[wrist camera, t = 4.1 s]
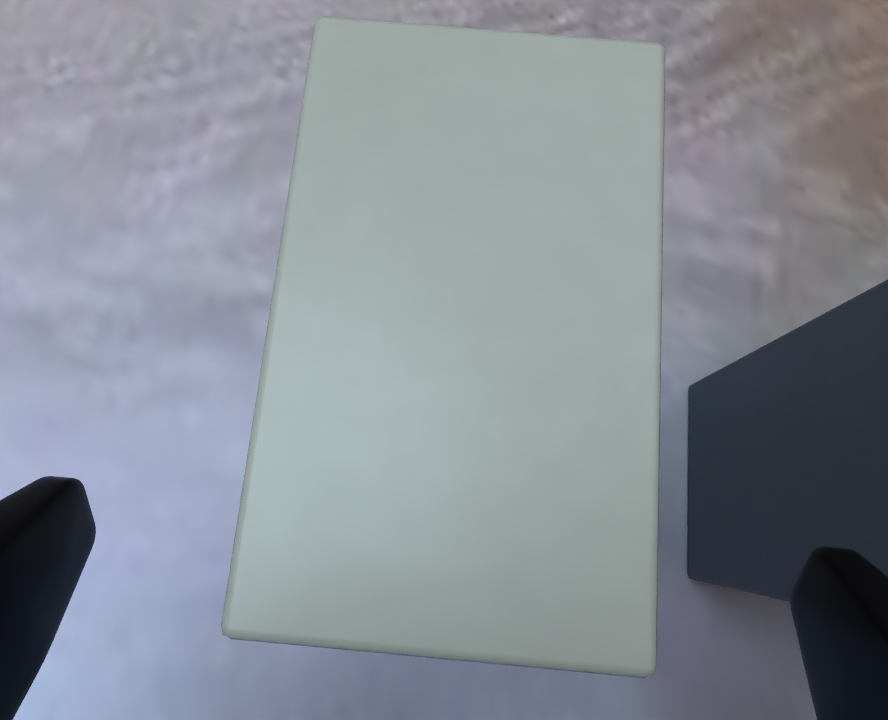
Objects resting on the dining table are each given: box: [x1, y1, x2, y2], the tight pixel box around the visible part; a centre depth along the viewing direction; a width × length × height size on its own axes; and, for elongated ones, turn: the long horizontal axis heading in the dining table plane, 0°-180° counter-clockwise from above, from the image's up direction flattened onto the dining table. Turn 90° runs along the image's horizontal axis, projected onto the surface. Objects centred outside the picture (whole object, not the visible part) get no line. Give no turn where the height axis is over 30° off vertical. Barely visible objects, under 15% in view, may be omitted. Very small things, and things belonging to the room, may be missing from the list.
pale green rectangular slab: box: [221, 16, 665, 678], centre depth 11 cm, size 3×5×13 cm, turn 175°
